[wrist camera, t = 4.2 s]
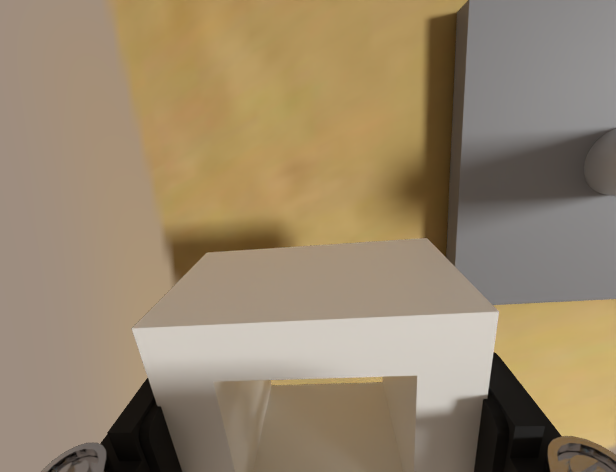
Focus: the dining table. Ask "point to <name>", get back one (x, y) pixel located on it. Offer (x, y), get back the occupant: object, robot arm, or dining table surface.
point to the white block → (322, 360)
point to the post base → (534, 150)
